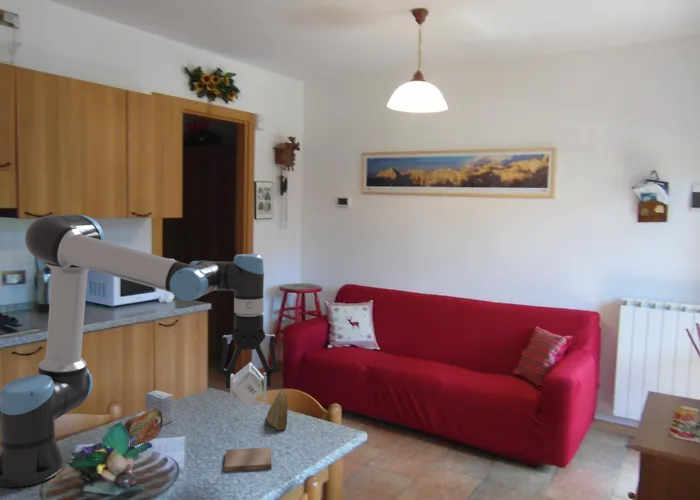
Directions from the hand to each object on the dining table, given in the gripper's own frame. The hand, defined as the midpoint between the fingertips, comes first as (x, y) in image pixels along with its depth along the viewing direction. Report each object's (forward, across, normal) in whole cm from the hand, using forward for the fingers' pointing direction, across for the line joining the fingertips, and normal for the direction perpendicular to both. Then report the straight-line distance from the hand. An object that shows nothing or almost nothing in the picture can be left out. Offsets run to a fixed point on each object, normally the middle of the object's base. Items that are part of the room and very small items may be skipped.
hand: (248, 398), depth 146 cm
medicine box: (+17, -28, +31) cm, 45 cm away
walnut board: (+17, 0, 0) cm, 17 cm away
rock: (+17, +8, +24) cm, 31 cm away
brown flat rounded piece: (+17, -30, +16) cm, 38 cm away
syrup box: (-5, 0, -8) cm, 9 cm away
